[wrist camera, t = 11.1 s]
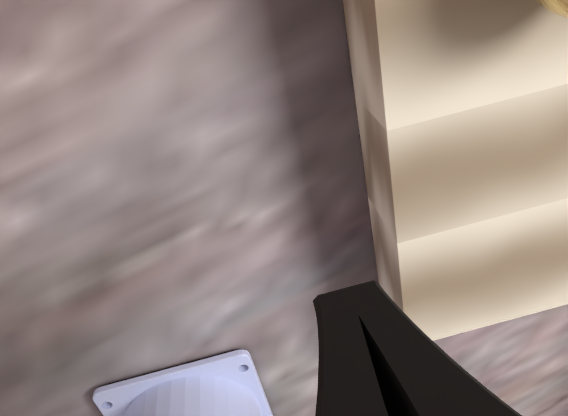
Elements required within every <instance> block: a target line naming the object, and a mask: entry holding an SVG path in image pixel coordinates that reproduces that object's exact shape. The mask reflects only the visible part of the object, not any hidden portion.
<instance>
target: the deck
mask: <svg viewBox="0 0 568 416" xmlns="http://www.w3.org/2000/svg"><path fill="white" fill-rule="evenodd" d="M343 7H344V14H345V22H346V30H347V38H348V46H349V54H350V61H351V69H352V77H353V85H354V93H355V101H356V108H357V116H358V124H359V132H360V140H361V147H362V155H363V163H364V171H365V179H366V187H367V194H368V202H369V210H370V218H371V226H372V234H373V241H374V249H375V257H376V265H377V273H378V280H379V285H380V286H381V287H382V288H383V290H384V291H385V292H386V293H387V294H388V295H389V297H390V298H391V299H392V300H393V301H394V302H395V303H396V304H397V306H398V307H399V308H400V309H401V310H402V311H403V312H404V313H405V314H406V315H407V316H408V317H409V318H410V319H411V320H412V321H413V322H414V323H415V324H416V325H417V326H418V327H419V328H420V329H421V330H422V331H423V332H424V333H425V334H426V335H427V336H428V337H429V338H430V339H431V340H432V341H433V340H437V339H441V338H445V337H448V336H452V335H456V334H459V333H463V332H467V331H470V330H474V329H478V328H481V327H485V326H489V325H492V324H496V323H500V322H503V321H507V320H511V319H515V318H518V317H522V316H526V315H529V314H533V313H537V312H540V311H544V310H548V309H551V308H555V307H559V306H562V305H566V304H568V18H565V17H562V16H559V15H556V14H554V13H552V12H550V11H548V10H547V9H546V8H544V7H543V6H542V5H540V4H539V3H538V2H537V1H536V0H343Z"/></svg>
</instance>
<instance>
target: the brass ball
mask: <svg viewBox="0 0 568 416" xmlns="http://www.w3.org/2000/svg"><path fill="white" fill-rule="evenodd" d="M536 1H537V2H538V3H539V4H540V5H542V6H543V7H544V8H546V9H547V10H548V11H550V12H552V13H554V14H556V15H559V16H562V17H565V18H568V0H536Z"/></svg>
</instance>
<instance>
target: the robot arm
mask: <svg viewBox="0 0 568 416" xmlns="http://www.w3.org/2000/svg"><path fill="white" fill-rule="evenodd" d="M313 303H314V307H315V311H316V316H317V324H318V338H319V368H318V393H317V404H316V415H315V416H522V415H520V414H519V413H518V412H516V411H515V410H514V409H512V408H511V407H510V406H508V405H507V404H506V403H504V402H503V401H502V400H501V399H499V398H498V397H497V396H496V395H494V394H493V393H492V392H491V391H489V390H488V389H487V388H486V387H484V386H483V385H482V384H481V383H480V382H478V381H477V380H476V379H475V378H474V377H473V376H471V375H470V374H469V373H468V372H467V371H465V370H464V369H463V368H462V367H461V366H460V365H458V364H457V363H456V362H455V361H454V360H453V359H452V358H451V357H449V356H448V355H447V354H446V353H445V352H444V351H443V350H442V349H441V348H440V347H439V346H438V345H437V344H435V343H434V342H433V341H432V340H431V339H430V338H429V337H428V336H427V335H426V334H425V333H424V332H423V331H422V330H421V329H420V328H419V327H418V326H417V325H416V324H415V323H414V322H413V321H412V320H411V319H410V318H409V317H408V316H407V315H406V314H405V313H404V312H403V311H402V310H401V309H400V308H399V307H398V306H397V304H396V303H395V302H394V301H393V300H392V299H391V298H390V297H389V295H388V294H387V293H386V292H385V291H384V290H383V288H382V287H381V286H380V285H379V283H377V282H375V281H370V282H366V283H362V284H359V285H355V286H351V287H347V288H344V289H340V290H336V291H333V292H329V293H325V294H321V295H318V296H317V297H316V298H315V299H314V300H313ZM241 365H244V366H241ZM92 399H93V402H94V403H95V404H96V406H97V407H98V409H99V410H100V411H101V413H102V414H103V416H273V414H272V411H271V409H270V406H269V403H268V401H267V398H266V395H265V393H264V390H263V387H262V385H261V382H260V379H259V376H258V374H257V371H256V368H255V366H254V363H253V360H252V358H251V355H250V353H249V352H248V351H246V350H242V349H241V350H236V351H232V352H228V353H224V354H221V355H217V356H213V357H210V358H206V359H202V360H198V361H195V362H191V363H187V364H184V365H180V366H176V367H172V368H169V369H165V370H161V371H158V372H154V373H150V374H147V375H143V376H139V377H135V378H132V379H128V380H124V381H121V382H117V383H113V384H109V385H106V386H102V387H99V388H97V389H96V390H95V391H94V393H93V398H92Z"/></svg>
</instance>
